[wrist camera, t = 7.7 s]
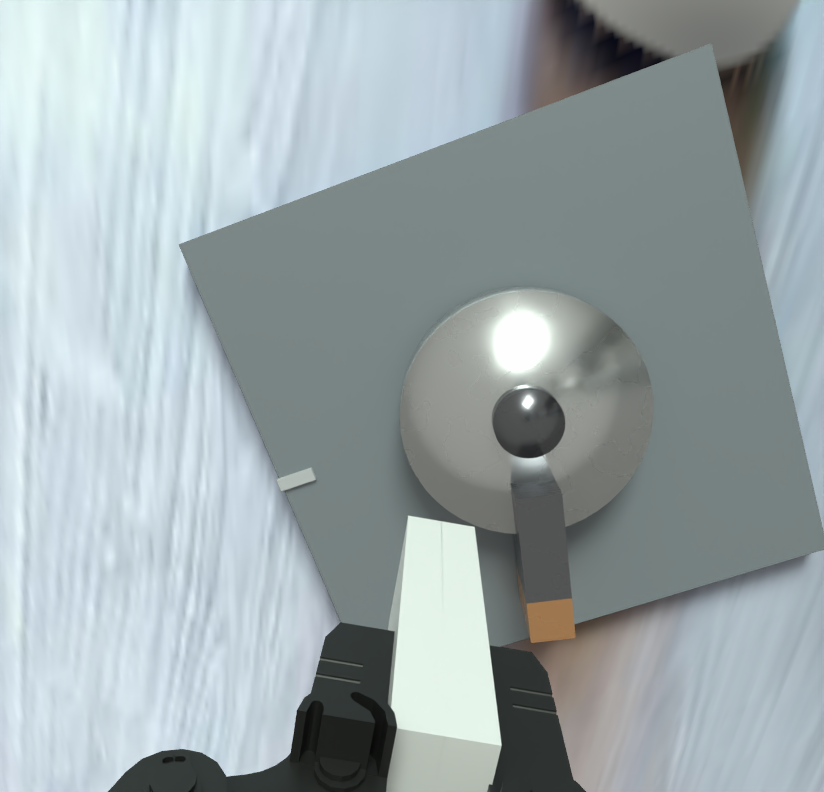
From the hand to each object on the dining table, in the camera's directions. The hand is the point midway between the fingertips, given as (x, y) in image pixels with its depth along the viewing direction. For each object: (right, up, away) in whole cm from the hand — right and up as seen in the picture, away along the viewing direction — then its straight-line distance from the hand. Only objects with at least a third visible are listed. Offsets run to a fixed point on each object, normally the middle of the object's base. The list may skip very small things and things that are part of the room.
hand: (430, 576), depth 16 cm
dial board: (+5, +4, +18) cm, 19 cm away
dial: (+5, +1, +17) cm, 18 cm away
